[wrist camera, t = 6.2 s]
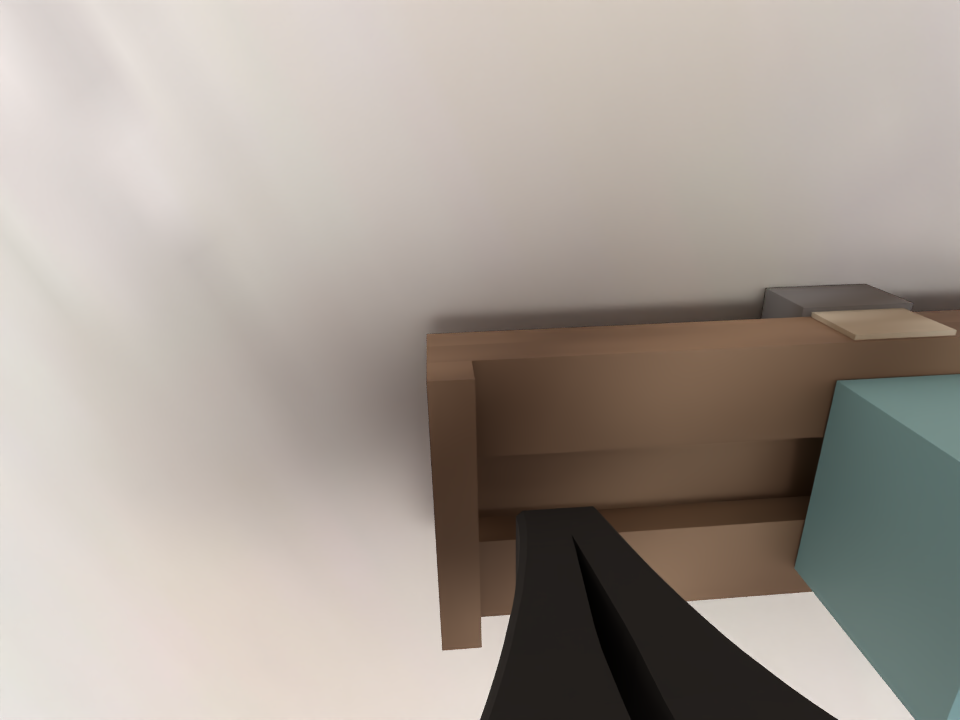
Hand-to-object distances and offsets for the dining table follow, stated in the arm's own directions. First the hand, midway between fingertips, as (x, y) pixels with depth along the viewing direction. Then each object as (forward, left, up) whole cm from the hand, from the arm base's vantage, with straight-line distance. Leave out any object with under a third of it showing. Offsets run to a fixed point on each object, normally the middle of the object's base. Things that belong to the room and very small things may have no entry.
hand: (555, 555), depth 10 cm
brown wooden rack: (-7, 0, -5) cm, 8 cm away
